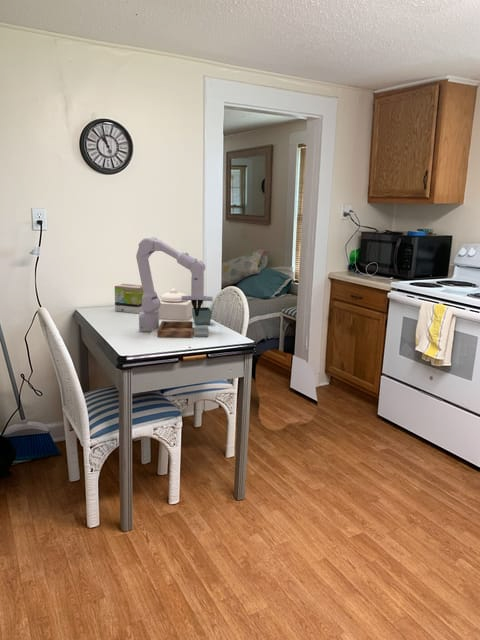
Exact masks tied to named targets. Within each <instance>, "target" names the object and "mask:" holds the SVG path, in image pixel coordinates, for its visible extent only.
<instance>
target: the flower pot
mask: <svg viewBox="0 0 480 640" xmlns="http://www.w3.org/2000/svg"><path fill="white" fill-rule="evenodd" d="M212 314H213V310H212V309H211V308H210V307H207V306H205V307H202V306H201V308H200V310H199V315H198V316H195V311H194V308H192V315H193V316H192V319H193V323H194V324H195V326H202V325H208V326H209V325H210V323H211V321H212Z"/></svg>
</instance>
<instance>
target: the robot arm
mask: <svg viewBox="0 0 480 640" xmlns="http://www.w3.org/2000/svg"><path fill="white" fill-rule="evenodd" d="M155 252H163V253H164V254H167V255H168V256H170V257H172V258H173V259H175V260H176V262H177V264H178V265H180V266H182V267H184V268H185V269H187V270H189V271H190V274H191V276H190V277H191V279H190V280H191V282H190V283H191V284H190V285H191V287H190V289H191V290H190V292H191V293H190V295H187V296H182V301H184V300H189V301H191V303H192V305H193V308H194V311H195V316H198V315H199V310H200V308H201V307H202V306H203V302H213V301H214V297H213V296H207V295H206V296H205V295H204V288H205V287H204V283H205V281H204V280H205V279H204V278H205V275H204V274H205V273H204V272H205V271H206V264H205V263H204V262H203V261H202V260H198V259H197V258H196V257H195V258H194V257H193V256H191V255H189V254H190V253H188V252H184V251H183V252H179V251H178V250H177V249H175V248H173V247H172V246H170V245H169V244H168V243H165V242H164V241H163V240H162V239H158V238H157V237H154V236H152V237H149V238H148V237H145V238H143V239H141V241H140V242H139V243H138V249H137V253H136V255H135V256H136V257H135V258H136V263H137V267H138V273H139V277H140V282H141V285H142V288H143V296H142V309H143V312H140V313H138V331H139V332H152V331H153V329H157V328H159V326H160V319H159V310H158V308H159V307H160V305H161V302H160V297H159V295H158V294H157V292H156V290H155V287H154V282H153V276H152V271H151V267H150V262H149V259H150V257H151V256H152V254H153V253H155Z"/></svg>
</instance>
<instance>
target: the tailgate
mask: <svg viewBox="0 0 480 640" xmlns="http://www.w3.org/2000/svg"><path fill="white" fill-rule="evenodd" d="M194 328H195V331H194V337H193V338H200V337H203V338H204V337H208V336H209V335H208V334H209V333H208V332H209V331H208V330H209V325H195V326H194Z"/></svg>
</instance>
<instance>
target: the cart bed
mask: <svg viewBox="0 0 480 640" xmlns="http://www.w3.org/2000/svg"><path fill="white" fill-rule="evenodd" d="M193 323H194V320H193V321H188V320H187V321H185V320H161V322H160V323H159V328H158V329H157V331H156V333H157V335H156V336H157V337H156V338H164V339H165V338H167V339H168V338H170V339H171V338H174V339H176V338H177V339H178V338H179V339H184V338H185V339H193V338H195V337H194V332H195V326H194V327H193V325H194V324H193Z"/></svg>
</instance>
